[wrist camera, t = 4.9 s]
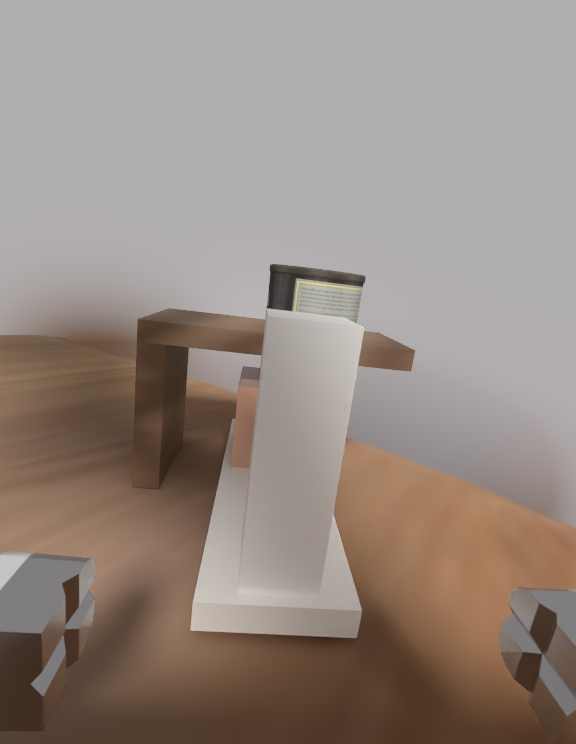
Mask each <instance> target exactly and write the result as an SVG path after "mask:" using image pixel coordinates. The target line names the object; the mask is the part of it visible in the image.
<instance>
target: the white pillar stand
mask: <svg viewBox="0 0 576 744" xmlns="http://www.w3.org/2000/svg"><path fill="white" fill-rule="evenodd" d="M363 333H364V327H362V326H360V325H358V324H356V323H354V322H352V321H351V320H349V319H347V318H344V317H335V316H327V315H318V314H310V313H302V312H293V311H285V310H277V309H268V308H267V313H266V322H265V331H264V340H263V349H262V358H261V367H260V377H259V386H258V395H257V404H256V413H255V422H254V431H253V440H252V450H251V459H250V468H239V467H231V458H232V448H233V438H234V427H235V419H232V423H231V428H230V432H229V437H228V442H227V446H226V451H225V455H224V460H223V465H222V469H221V474H220V479H219V483H218V488H217V492H216V497H215V502H214V506H213V511H212V515H211V520H210V525H209V529H208V534H207V539H206V543H205V548H204V552H203V557H202V562H201V566H200V571H199V575H198V580H197V585H196V589H195V594H194V599H193V605H192V618H191V630H190V631H212V632H233V633H255V634H277V635H299V636H320V637H342V638H357V635H358V630H359V625H360V620H361V615H362V608H361V605H360V602H359V598H358V595H357V592H356V588H355V585H354V581H353V578H352V575H351V571H350V568H349V565H348V561H347V558H346V554H345V551H344V548H343V544H342V541H341V537H340V534H339V531H338V527H337V524H336V521H335V517H334V514H333V512H334V506H335V500H336V494H337V488H338V482H339V476H340V470H341V464H342V458H343V452H344V446H345V440H346V434H347V428H348V422H349V416H350V411H351V404H352V399H353V393H354V386H355V381H356V375H357V369H358V363H359V357H360V351H361V345H362V339H363Z"/></svg>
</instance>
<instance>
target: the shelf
mask: <svg viewBox="0 0 576 744" xmlns="http://www.w3.org/2000/svg"><path fill="white" fill-rule="evenodd" d="M265 322H266V320H263V319H255V318H247V317H238V316H229V315H221V314H212V313H204V312H195V311H187V310H178V309H166V310H163V311H160V312H158V313H154V314H151V315H149V316H146V317H143V318H140V319H138V331H137V358H136V387H135V415H134V444H133V472H132V487H143V488H156V489H159V487H160V485H161V483H162V481H163V479H164V477H165V475H166V473H167V470H168V468H169V466H170V464H171V462H172V460H173V458H174V456H175V454H176V452H177V450H178V448H179V446H180V444H181V442H182V440H183V426H184V410H185V395H186V380H187V364H188V349H189V347H190V348H199V349H208V350H217V351H227V352H236V353H245V354H255V355H262V349H263V340H264V331H265ZM414 353H415V350H413V349H411V348H409V347H407V346H405V345H402V344H401V343H399V342H396V341H394V340H392V339H390V338H388V337H386V336H384V335H382V334H380V333H375V332H366V331H364V333H363V339H362V345H361V351H360V357H359V363H358V366H365V367H374V368H384V369H392V370H402V371H411V368H412V363H413V358H414Z"/></svg>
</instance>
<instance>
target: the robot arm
mask: <svg viewBox="0 0 576 744" xmlns="http://www.w3.org/2000/svg"><path fill="white" fill-rule="evenodd" d="M94 579H95V562H94V561H93V560H92V559H91V558H81V557H70V556H59V555H48V554H37V553H36V554H31V553H20V552H9V551H6V552H4V553H2V554H0V731H44V729H45V727H46V725H47V723H48V721H49V719H50V717H51V715H52V713H53V711H54V709H55V707H56V705H57V703H58V701H59V699H60V697H61V695H62V693H63V691H64V688H65V686H66V669H67V668H68V667H69V666H71V665H72V664H73V663H75V662H76V661H77V660H78V659H79V657H80V655H81V653H82V651H83V649H84V647H85V645H86V642H87V639H88V636H89V633H90V629H91V626H92V622H93V616H94V610H95V598H94V596H93V595H92V594H91V593H90V591H89V588H90V586H91V584H92V582H93V581H94ZM508 604H509V606H510V608H511V610H512V614H511V615H510V616H509V617H508V618H506V619H505V620H504V621H503V622H502V626H501V630H500V634H499V642H500V650H501V654H502V657H503V660H504V662H505V665H506V667H507V668H508V670H509V672H510V673H511V675H512V677H513V678H514V680H516V681H517V682H518V683H519V684H520V685H522V686H523V687H524V688H525V689H527V690H528V691H529V704H530V706H531V708H532V709H533V711H534V712H535V714H536V716H537V717H538V719H539V720H540V722H541V724H542V725H543V727H544V729H545V730H546V732H547V733H548V735H549V737H550V738H551V740H552V741H553V743H554V744H576V590H569V589H566V590H559V589H542V588H525V587H517V588H516V589H515V590H514V591H513V592H512V594H511V597H510V600H509V603H508Z"/></svg>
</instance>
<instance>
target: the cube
mask: <svg viewBox="0 0 576 744" xmlns="http://www.w3.org/2000/svg"><path fill="white" fill-rule="evenodd" d="M259 377H260V368H253V367H243V368H242V373H241V378H240V382H239V388H238V397H237V407H236V417H235V427H234V438H233V448H232V458H231V467H239V468H250V459H251V450H252V440H253V431H254V422H255V413H256V404H257V395H258V386H259Z"/></svg>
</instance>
